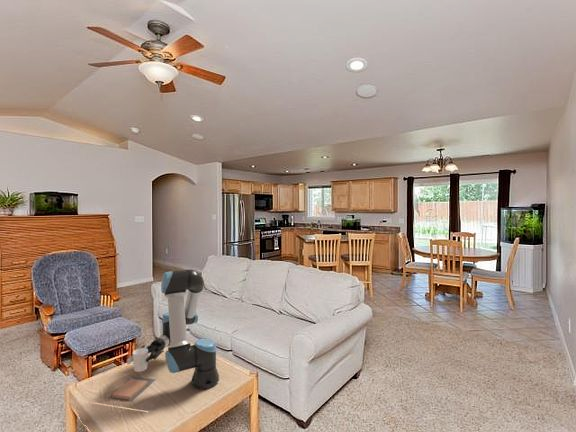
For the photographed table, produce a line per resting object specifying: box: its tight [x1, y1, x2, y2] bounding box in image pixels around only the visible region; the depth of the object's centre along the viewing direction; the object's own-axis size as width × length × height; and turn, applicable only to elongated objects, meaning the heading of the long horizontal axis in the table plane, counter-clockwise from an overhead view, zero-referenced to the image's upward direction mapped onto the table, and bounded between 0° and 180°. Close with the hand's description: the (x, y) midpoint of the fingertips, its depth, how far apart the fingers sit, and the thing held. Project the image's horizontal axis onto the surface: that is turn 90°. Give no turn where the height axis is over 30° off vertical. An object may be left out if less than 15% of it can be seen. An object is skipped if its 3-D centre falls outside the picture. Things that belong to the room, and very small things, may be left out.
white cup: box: [132, 347, 149, 373], centre depth 170 cm, size 8×8×10 cm
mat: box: [107, 376, 157, 403], centre depth 165 cm, size 14×20×1 cm
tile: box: [112, 378, 147, 400], centre depth 163 cm, size 10×2×14 cm
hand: (134, 362), depth 165 cm, fingers closed on white cup, 8 cm apart
